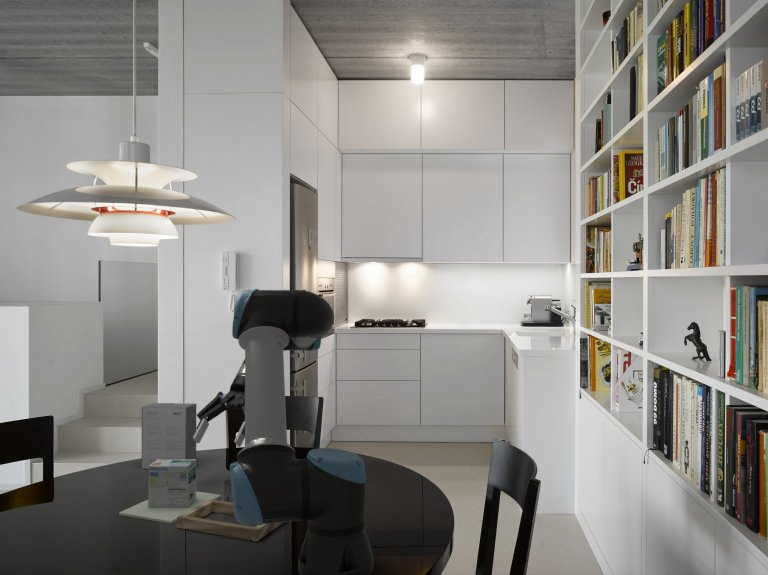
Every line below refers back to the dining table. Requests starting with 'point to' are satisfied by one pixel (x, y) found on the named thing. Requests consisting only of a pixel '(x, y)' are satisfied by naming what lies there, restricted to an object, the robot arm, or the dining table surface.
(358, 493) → the robot arm
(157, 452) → the hard drive box
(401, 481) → the dining table surface
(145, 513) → the sage mat
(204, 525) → the oak frame
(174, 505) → the light bulb box
